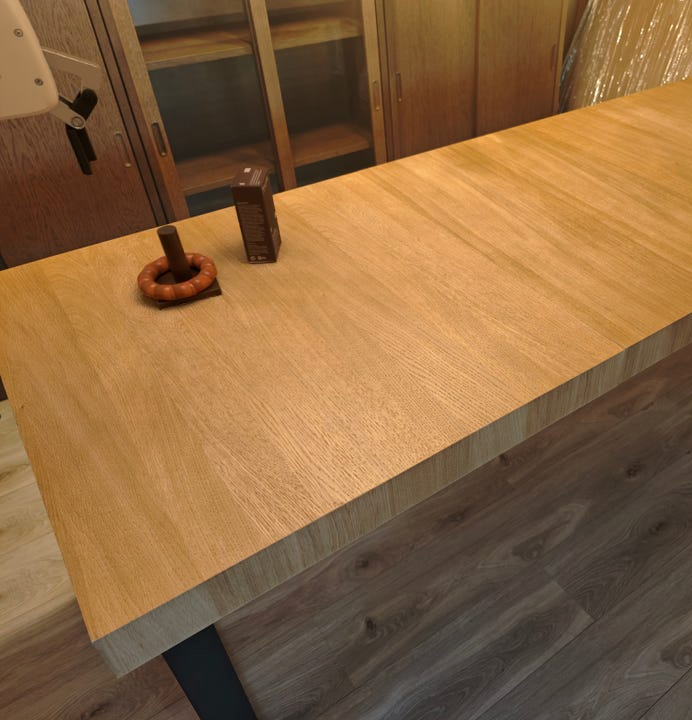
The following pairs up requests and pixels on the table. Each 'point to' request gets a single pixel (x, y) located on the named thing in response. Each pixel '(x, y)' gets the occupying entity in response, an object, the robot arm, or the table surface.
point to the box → (256, 214)
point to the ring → (180, 289)
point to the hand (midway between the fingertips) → (26, 180)
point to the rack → (179, 268)
